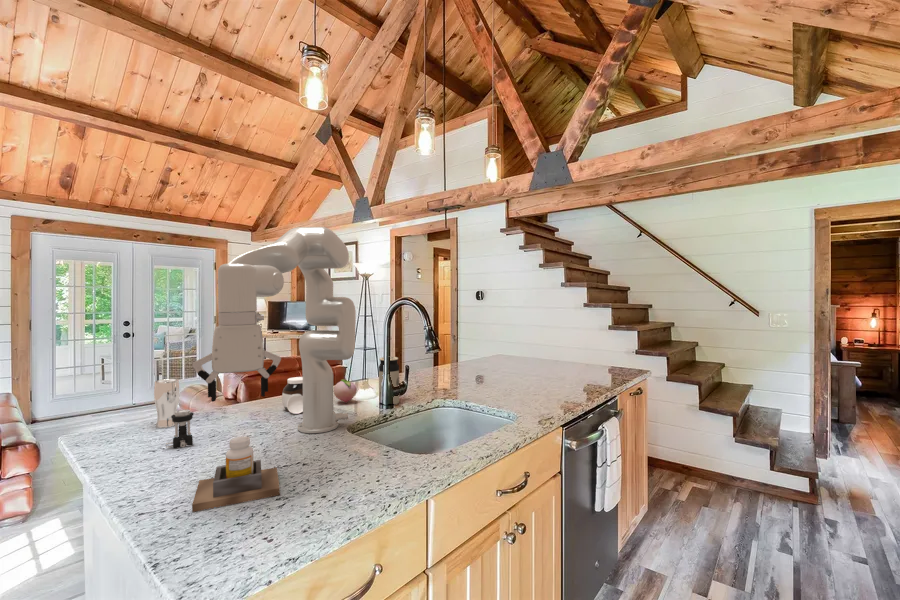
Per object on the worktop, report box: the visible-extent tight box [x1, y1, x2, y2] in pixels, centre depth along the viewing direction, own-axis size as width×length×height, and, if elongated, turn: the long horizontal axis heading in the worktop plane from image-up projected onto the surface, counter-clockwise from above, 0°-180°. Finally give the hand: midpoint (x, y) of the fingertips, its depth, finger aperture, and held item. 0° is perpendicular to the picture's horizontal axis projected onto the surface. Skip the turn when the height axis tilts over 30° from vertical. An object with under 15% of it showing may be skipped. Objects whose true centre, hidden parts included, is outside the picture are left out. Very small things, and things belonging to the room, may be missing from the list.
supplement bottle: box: [225, 436, 254, 479], centre depth 90 cm, size 5×5×10 cm
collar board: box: [191, 459, 281, 513], centre depth 90 cm, size 16×12×4 cm
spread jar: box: [281, 376, 303, 415], centre depth 155 cm, size 12×11×12 cm
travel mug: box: [378, 356, 400, 405], centre depth 165 cm, size 8×8×18 cm
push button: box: [165, 409, 194, 449], centre depth 118 cm, size 7×5×10 cm
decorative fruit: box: [333, 377, 357, 404], centre depth 165 cm, size 9×8×10 cm
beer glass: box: [153, 378, 180, 429], centre depth 137 cm, size 7×7×15 cm
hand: (239, 397), depth 91 cm, fingers open, 9 cm apart
